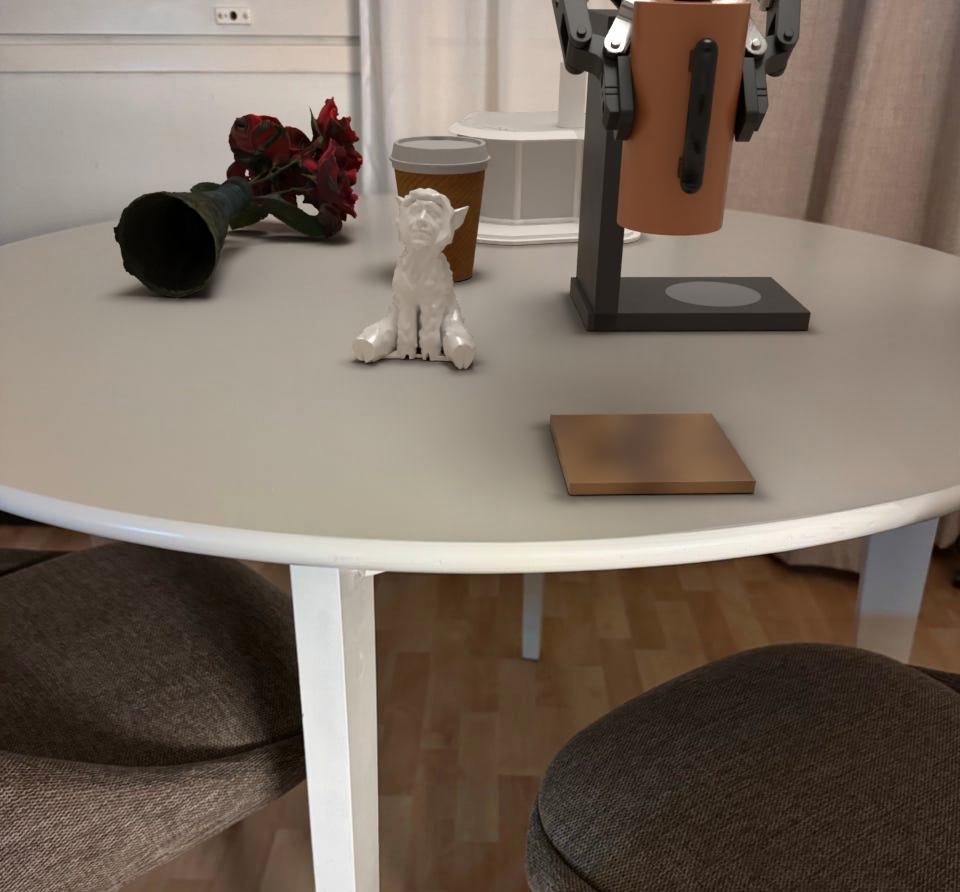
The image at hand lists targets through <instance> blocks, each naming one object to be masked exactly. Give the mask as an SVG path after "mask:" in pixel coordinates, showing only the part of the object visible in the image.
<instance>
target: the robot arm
mask: <svg viewBox="0 0 960 892" xmlns="http://www.w3.org/2000/svg"><path fill="white" fill-rule="evenodd" d="M589 1H590V0H551V5H552V9H553V14H554V19H555V24H556V29H557V35H558V39H559V45H560V50H561V54H562V55H561V56H562V61H563V60H564V65H565V68H566V70H567V71H568V72H569V73H570V74H573V75H579V74H582V73H583V72H584V71H586V72H587V73H588V72H589V73H591V74H593V75H595V76H596V77H597V79H598V80H599V84H600V100H601V118H602V124H603V126H604V127H605V129H606V130H614V140H615V141H628V138H629V135H630V131H631V127H632V123H633V117H634V105H633V90H632V74H631V60H630V46H631V33H632V21H633V8H634V0H609V1H610V2H611V3H612V4H613V5H614V7H615V8H616V9H618V10H619V11H618V14H617V16H616V18H615V20H614V22H613V24H612V26H611V28H610V30H609V32H608V34H607V36H606V37H603V36H600V35H597V34H593V31H592V26H591V22H590V17H589V12H588V9H589V7H588V2H589ZM734 1H747V2H749V0H734ZM757 3H759V8H758V9H759V10H760V11H761V12H763V13H764V12H765V13H766V21H765V35H763V34H762V32H761V30H760V29H759V28H758V26H757V24H756V23H755V22H754V20H753V19H752V15H750V17H749V25H748V32H747V40H746V48H745V55H744V63H743V71H742V78H741V86H740V94H739V101H738V109H737V117H736V124H735V132H734V141H735V142H736V143H749V142H751V139H752V137H753V134H754V133H755V132H759V130H760V128H761V125H762V124H763V122H764V118H765V117H766V114H767V112H768V109H769V105H770V104H769V95H768V83H767V76H769V77H772V78H779V77H781V76H782V75H784V73H785V71H786V69H787V66H788V62H789V60H790V58H791V56H792V53H793V52H794V49H795V48H796V46H797V44H798V41H799V39H800V33H801V32H800V29H801V11H802V9H801V7H802V0H757Z"/></svg>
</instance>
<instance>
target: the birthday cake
mask: <svg viewBox="0 0 960 892" xmlns="http://www.w3.org/2000/svg"><path fill="white" fill-rule="evenodd" d="M587 74H588V72H586V71H584V72H583V73H582V74H579V75H573V74H570V73H569V72H568V71H567V70H566V68H565V65H564V60H563V59H562V60H561V61H560V64H559V85H558V105H557V106H558V107H557V111H517V112H516V111H514V112H511V111H509V112H508V111H495V110H494V111H493V110H490V111H489V110H488V111H473V112H470V113H469V114H468V115H466V116H465V117H464V118H463V119H460V120H458V121H455V122H454V123H453V124H452V125H450V126H449V127H448V128H447V130H448V131H449V132H451V133H452V134H453V133H454V134H455V135H456V136H458V137H469V138H476V139H479V140H483V141H484V142H486V147H487V153H488V155H489V156H490V157H491V159H490V161H489V162H488V168H487V169H485V179H484V187H483V194H482V202H481V210H480V217H479V226H478V234H477V241H476V244H477V243H478V244H487V245H500V246H501V245H502V246H522V245H525V246H526V245H527V246H528V245H542V244H543V245H545V244H563V243H565V244H566V243H578V236H579V219H580V202H581V185H582V168H583V151H584V134H585V117H586V112H585V108H586V91H587ZM641 235H642V233H641V232H636V231H632V230H629V229H626V228H625V230H624V242H623V244H628V243H635V242H636V241H638V240H640V239H641Z"/></svg>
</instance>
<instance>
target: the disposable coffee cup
mask: <svg viewBox="0 0 960 892" xmlns="http://www.w3.org/2000/svg"><path fill="white" fill-rule="evenodd" d="M490 159H491V157H490V156H489V155H488V153H487V147H486V142H484V141H483V140H479V139H476V138H469V137H458V136H457V135H455V136H454V135H417V136H407V137H401V138H397V139H395V140H394V141H393V144H392V150H391V154H389V156H388V160H389V161H390V162H391V167H392V168H393V170H394V177H395V185H396V191H397V196H400V197H402V198H404V197H405V196H406V195H409V192H410V191H413V190H416V189H418V188H422V189H426V188H430V189H432V190H435V191H437V192H438V193H440V194H442V195H445V196H446V197H447V198H448V199H449V200H450V204H451V207H452V208H453V209H454V210H455V209H459V208H462V207H466V206H469V209H468V211H467V214H466V216H465V219H464V222H463V224H462V225H461V226H460V227H459V228H458V229H456V230H455V232H454V237H453V239H452V243H451V244H448V245H446V246H445V248H444V249H443V250H442V251H441V252H442V253H443V254H444V255H445V256H446V260H447V261H448V262H449V264H450V270H451V271H452V273H453V274H452V277H453V279H452V280H453V282H460V281H464V280H467V279H470V278H471V277H472V276H473V271H474V265H475V257H476V256H475V255H476V248H477V243H476V241H477V234H478V226H479V217H480V210H481V202H482V194H483V187H484V179H485V169H487V168H488V162H489V161H490ZM404 248H405V249H406V247H405V246H404Z"/></svg>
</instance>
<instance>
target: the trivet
mask: <svg viewBox="0 0 960 892" xmlns="http://www.w3.org/2000/svg"><path fill="white" fill-rule="evenodd" d="M548 425H549V428H550V431H551V435H552V439H553V442H554V445H555V446H554V447H555V450H556V453H557V456H558V459H559V464H560V467H561V470H562V471H561V472H562V474H563V478H564V481H565V484H566V488H567V491H568V494H569V495H570V496H577V495H579V496H581V495H582V496H583V495H584V496H585V495H590V496H591V495H661V494H668V495H670V494H674V495H677V494H739V493H740V494H753V493H755V489H756V483H757V481H756V478H755V477H754V476H753V474H752V473H751V471H750V469H749V468H748V466H747V465H746V463H745V462H744V460H743V459H742V457H741V456H740V454H739V452H738V451H737V450H736V448H735V447H734V445H733V443H732V442H731V440H730V439H729V437H728V436H727V434H726V432H725V431H724V430H723V428H722V427H721V425H720V424H719V422H718V421H717V418H716V417H715V416H714V414H713V413H609V414H608V413H603V414H602V413H600V414H598V413H596V414H594V413H593V414H592V413H591V414H586V413H585V414H583V413H582V414H550V415H549V424H548Z"/></svg>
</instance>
